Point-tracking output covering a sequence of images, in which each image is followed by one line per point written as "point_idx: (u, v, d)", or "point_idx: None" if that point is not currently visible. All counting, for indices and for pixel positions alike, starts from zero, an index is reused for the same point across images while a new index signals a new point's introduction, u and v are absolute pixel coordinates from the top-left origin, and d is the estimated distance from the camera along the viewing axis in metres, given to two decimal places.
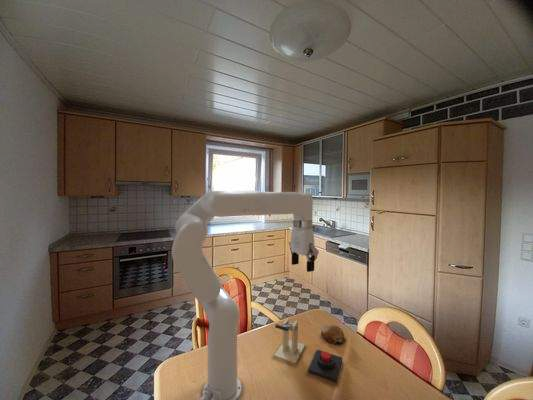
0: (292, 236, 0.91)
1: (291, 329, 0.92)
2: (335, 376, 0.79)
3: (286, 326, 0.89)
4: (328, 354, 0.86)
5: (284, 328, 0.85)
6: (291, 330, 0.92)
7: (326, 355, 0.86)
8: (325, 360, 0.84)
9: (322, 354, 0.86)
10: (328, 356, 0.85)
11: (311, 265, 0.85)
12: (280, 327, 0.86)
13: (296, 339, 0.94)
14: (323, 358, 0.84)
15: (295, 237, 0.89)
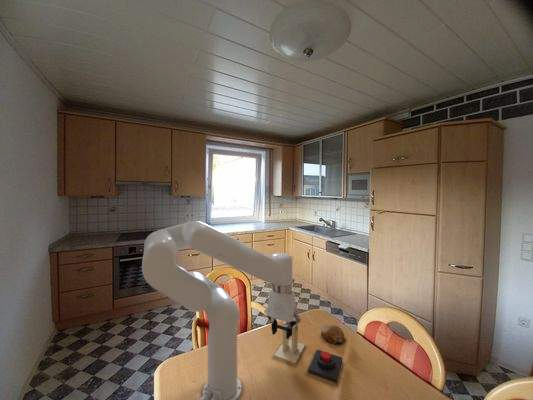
0: (271, 301, 0.85)
1: None
2: (335, 376, 0.79)
3: (286, 326, 0.89)
4: (328, 354, 0.86)
5: (284, 328, 0.85)
6: None
7: (326, 355, 0.86)
8: (325, 360, 0.84)
9: (322, 354, 0.86)
10: (328, 356, 0.85)
11: (291, 331, 0.84)
12: (280, 327, 0.86)
13: (296, 339, 0.94)
14: (323, 358, 0.84)
15: (276, 303, 0.84)
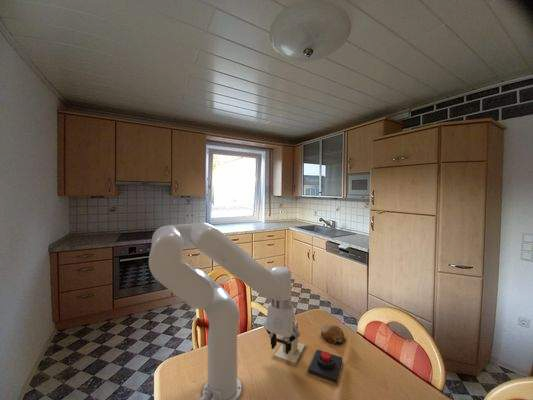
0: (270, 316, 0.84)
1: None
2: (335, 376, 0.79)
3: None
4: (328, 354, 0.86)
5: (283, 342, 0.84)
6: None
7: (326, 355, 0.86)
8: (325, 360, 0.84)
9: (322, 354, 0.86)
10: (328, 356, 0.85)
11: (290, 346, 0.83)
12: (279, 341, 0.85)
13: (296, 339, 0.94)
14: (323, 358, 0.84)
15: (275, 317, 0.83)
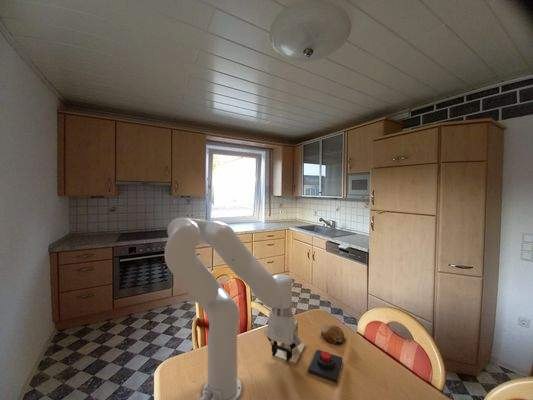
0: (271, 323, 0.85)
1: None
2: (335, 376, 0.79)
3: None
4: (328, 354, 0.86)
5: (283, 350, 0.85)
6: None
7: (326, 355, 0.86)
8: (325, 360, 0.84)
9: (322, 354, 0.86)
10: (328, 356, 0.85)
11: (291, 353, 0.84)
12: (279, 349, 0.86)
13: None
14: (323, 358, 0.84)
15: (276, 325, 0.84)
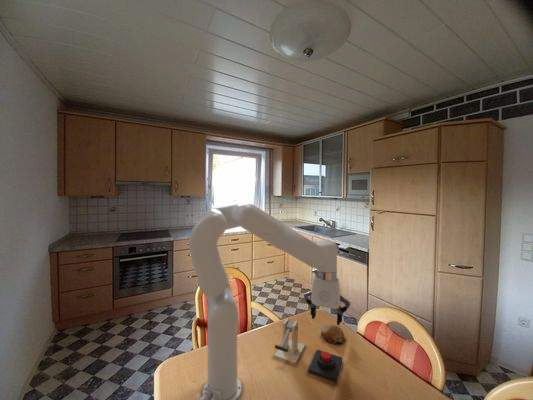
0: (316, 289, 0.84)
1: (291, 331, 0.93)
2: (335, 376, 0.79)
3: (285, 339, 0.88)
4: (328, 354, 0.86)
5: (283, 350, 0.85)
6: None
7: (326, 355, 0.86)
8: (325, 360, 0.84)
9: (322, 354, 0.86)
10: (328, 356, 0.85)
11: (341, 317, 0.83)
12: (279, 349, 0.86)
13: (296, 339, 0.94)
14: (323, 358, 0.84)
15: (322, 290, 0.83)
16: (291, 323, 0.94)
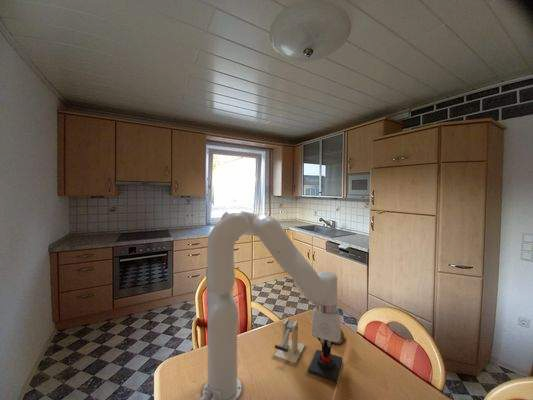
0: (316, 321, 0.84)
1: (291, 331, 0.93)
2: (335, 376, 0.79)
3: (285, 339, 0.88)
4: None
5: (283, 350, 0.85)
6: None
7: None
8: (325, 360, 0.84)
9: (322, 354, 0.86)
10: (328, 356, 0.85)
11: (330, 349, 0.85)
12: (279, 349, 0.86)
13: (296, 339, 0.94)
14: (323, 358, 0.84)
15: (322, 322, 0.83)
16: (291, 323, 0.94)
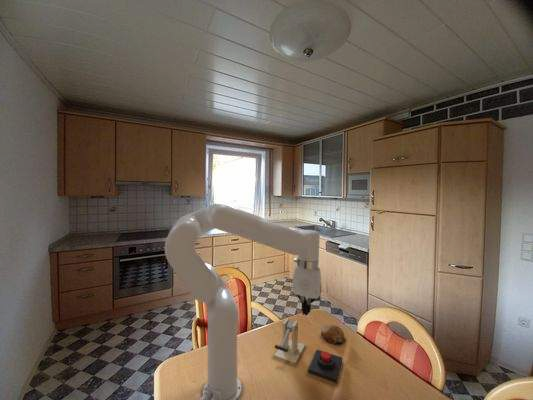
0: (296, 278, 0.83)
1: (291, 331, 0.93)
2: (335, 376, 0.79)
3: (285, 339, 0.88)
4: (328, 354, 0.86)
5: (283, 350, 0.85)
6: None
7: (326, 355, 0.86)
8: (325, 360, 0.84)
9: (322, 354, 0.86)
10: (328, 356, 0.85)
11: (309, 308, 0.83)
12: (279, 349, 0.86)
13: (296, 339, 0.94)
14: (323, 358, 0.84)
15: (302, 279, 0.82)
16: (291, 323, 0.94)
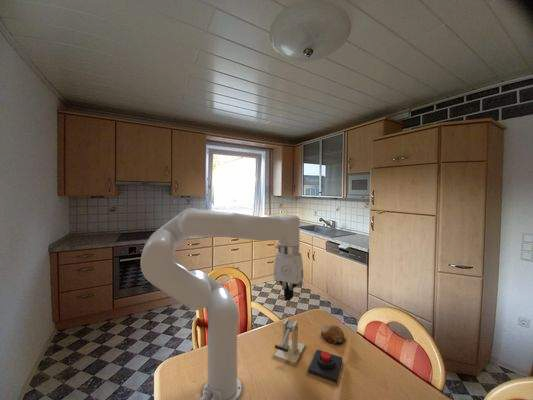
0: (278, 263, 0.82)
1: (291, 331, 0.93)
2: (335, 376, 0.79)
3: (285, 339, 0.88)
4: (328, 354, 0.86)
5: (283, 350, 0.85)
6: None
7: (326, 355, 0.86)
8: (325, 360, 0.84)
9: (322, 354, 0.86)
10: (328, 356, 0.85)
11: (292, 293, 0.83)
12: (279, 349, 0.86)
13: (296, 339, 0.94)
14: (323, 358, 0.84)
15: (283, 264, 0.81)
16: (291, 323, 0.94)
